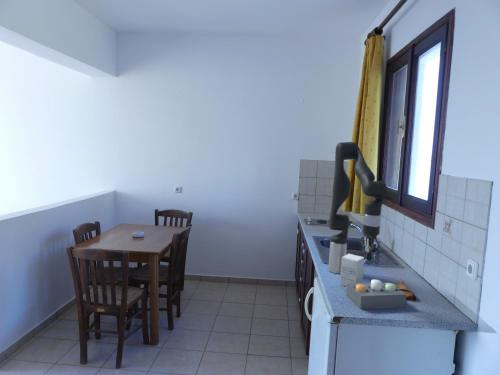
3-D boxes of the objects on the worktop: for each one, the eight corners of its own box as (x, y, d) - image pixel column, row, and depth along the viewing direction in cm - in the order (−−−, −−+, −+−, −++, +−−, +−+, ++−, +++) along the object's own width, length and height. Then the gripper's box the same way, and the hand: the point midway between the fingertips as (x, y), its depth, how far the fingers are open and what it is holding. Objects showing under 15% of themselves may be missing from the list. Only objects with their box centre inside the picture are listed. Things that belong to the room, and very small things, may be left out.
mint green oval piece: (382, 294, 165) (383, 283, 165) (391, 293, 166) (392, 282, 165) (388, 298, 161) (389, 286, 160) (397, 298, 162) (398, 286, 161)
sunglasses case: (386, 285, 183) (394, 275, 182) (397, 292, 183) (405, 282, 182) (398, 299, 165) (406, 288, 164) (410, 308, 165) (419, 297, 164)
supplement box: (346, 280, 188) (348, 253, 186) (362, 284, 182) (364, 257, 180) (339, 284, 181) (341, 256, 179) (355, 289, 175) (358, 260, 173)
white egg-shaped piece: (368, 290, 164) (369, 279, 163) (377, 290, 165) (378, 279, 164) (373, 294, 159) (374, 283, 159) (382, 294, 160) (383, 283, 159)
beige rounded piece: (353, 295, 162) (354, 283, 162) (362, 294, 163) (363, 283, 163) (358, 299, 158) (359, 287, 157) (367, 299, 159) (368, 287, 158)
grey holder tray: (346, 295, 167) (346, 283, 166) (387, 294, 171) (388, 282, 170) (360, 309, 153) (361, 296, 153) (405, 307, 158) (406, 294, 157)
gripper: (357, 220, 167) (354, 255, 169) (371, 227, 154) (368, 264, 157) (371, 220, 168) (368, 254, 171) (386, 227, 155) (383, 264, 158)
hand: (368, 259), depth 164 cm, fingers closed
